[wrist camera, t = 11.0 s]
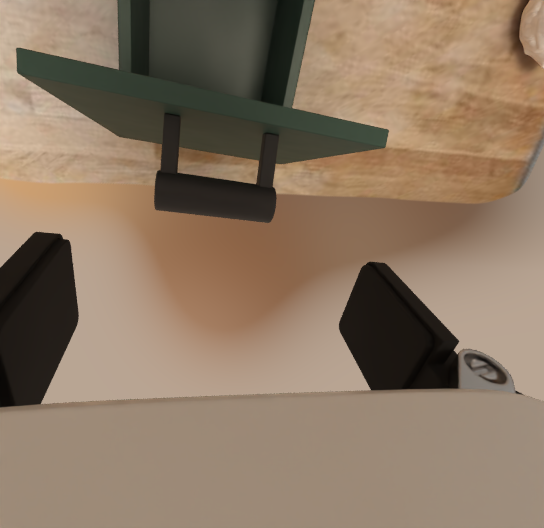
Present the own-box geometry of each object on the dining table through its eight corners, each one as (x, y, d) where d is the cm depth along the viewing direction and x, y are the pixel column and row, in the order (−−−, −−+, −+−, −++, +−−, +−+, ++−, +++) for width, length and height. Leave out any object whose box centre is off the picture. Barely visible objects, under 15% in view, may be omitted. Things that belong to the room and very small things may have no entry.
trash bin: (141, -79, 29) (113, -156, 19) (289, -28, 33) (329, -69, 23) (140, 114, 37) (120, 130, 27) (260, 137, 41) (281, 158, 31)
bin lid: (15, 46, 10) (20, 200, 12) (389, 129, 14) (367, 238, 15) (119, 126, 26) (117, 188, 28) (282, 155, 30) (275, 208, 31)
